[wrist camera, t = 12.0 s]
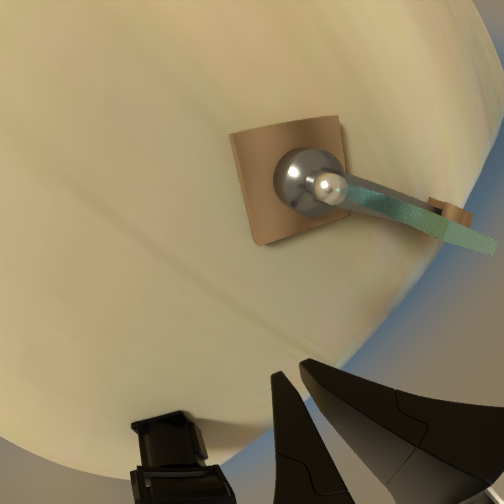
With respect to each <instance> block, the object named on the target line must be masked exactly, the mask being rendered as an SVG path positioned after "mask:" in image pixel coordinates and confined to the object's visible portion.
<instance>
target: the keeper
mask: <svg viewBox="0 0 504 504" xmlns="http://www.w3.org/2000/svg"><path fill="white" fill-rule="evenodd" d="M428 204H430V205H432V206H434V207H437V208H439V209H441V210H442V214H441V216H442V217H445V218H447V219H449V220H452V221H454V222H456V223H459V224H461V225H463V226H465V227H468V228H469V226H470V223H471V220H472V216H473V214H471V213H469V212H467V211H465V210H463V209H461V208H459V207H457V206H455V205H452V204H450V203H447V202H445V203H444V202H441V201H439V200H436V199H433V198H430V197H429V200H428ZM434 238H435V237H434Z"/></svg>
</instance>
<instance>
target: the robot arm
mask: <svg viewBox="0 0 504 504" xmlns="http://www.w3.org/2000/svg"><path fill="white" fill-rule="evenodd" d="M299 368H300V375H301V379H302V381H303V383H304V385H305V386H306V388H307V390H308V392H309V393H310V395H311V397H312V398H313V400H314V402H315V403H316V405H317V407H318V408H319V409H320V411H321V412H322V414H323V415H324V416H325V418H326V419H327V420H328V421H329V422H330V424H331V425H332V426H333V427H334V428H335V430H336V431H337V432H338V433H339V435H340V436H341V437H342V438H343V439H344V440H345V442H346V443H347V444H348V445H349V446H350V447H351V448H352V450H353V451H354V452H355V453H356V454H357V455H358V457H359V458H360V459H361V460H362V461H363V462H364V464H365V465H366V466H367V467H368V468H369V469H370V470H371V471H372V472H373V474H374V475H375V476H376V477H377V478H378V479H379V480H380V481H381V483H382V484H383V485H384V486H385V487H386V488H387V489H388V490H389V492H390V493H391V495H392V496H393V498H394V500H395V502H396V504H504V407H493V406H482V405H473V404H465V403H457V402H451V401H444V400H438V399H432V398H427V397H422V396H418V395H414V394H411V393H407V392H404V391H400V390H397V389H396V390H394V389H393V388H390V387H387V386H384V385H381V384H378V383H375V382H372V381H369V380H367V379H364V378H361V377H358V376H355V375H353V374H350V373H347V372H345V371H342V370H339V369H337V368H334V367H331V366H329V365H326V364H324V363H321V362H318V361H316V360H313V359H311V358H308V359H306V360H303V361H301V362H300V363H299ZM271 391H272V406H273V423H274V439H275V453H276V454H275V460H276V482H275V494H274V502H273V504H355V502H354V501H353V499H352V497H351V495H350V493H349V492H348V489H347V487H346V485H345V483H344V481H343V480H342V478H341V476H340V474H339V472H338V470H337V468H336V466H335V464H334V462H333V460H332V458H331V456H330V454H329V452H328V450H327V448H326V447H325V444H324V442H323V440H322V439H321V436H320V434H319V432H318V430H317V428H316V426H315V424H314V423H313V420H312V419H311V417H310V414H309V412H308V410H307V408H306V406H305V404H304V402H303V400H302V398H301V396H300V394H299V393H298V391H297V390H296V389H295V387H294V386H293V385H292V383H291V382H290V381H289V380H288V378H287V377H286V376H285V374H284V373H283V372H282V371H279V372H276V373H274V374H272V375H271ZM131 429H132V430H134V431H135V432H136V433H137V434H138V438H139V447H140V455H141V463H142V466H137V470H134V471H130V477H131V485H132V490H133V496H134V501H135V504H237V503H236V498H235V494H234V492H233V490H232V488H231V486H230V484H229V483H228V481H227V480H226V478H225V476H224V474H223V472H222V471H221V469H220V467H219V465H218V464H217V465H213V466H206V464H205V461H204V460H206V459H208V454H207V451H206V448H205V444H204V441H203V438H202V434H201V431H200V430H199V429H198V427H197V426H196V425H195V424H194V422H192V421H191V422H190V421H189V419H188V418H187V417H186V416H185V414H184V413H183V412H181V411H177V412H174V413H170V414H166V415H163V416H159V417H155V418H151V419H147V420H143V421H139V422H134V423H131ZM146 485H147V486H148V485H149V487H146Z"/></svg>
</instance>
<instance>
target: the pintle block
mask: <svg viewBox="0 0 504 504" xmlns="http://www.w3.org/2000/svg"><path fill="white" fill-rule="evenodd" d="M229 136H230V141H231V145H232V149H233V154H234V158H235V162H236V166H237V171H238V175H239V179H240V184H241V188H242V192H243V197H244V201H245V205H246V210H247V214H248V218H249V223H250V227H251V231H252V236H253V240H254V242H255V243H256V244H257V245H258V246H262V245H265V244H267V243H270V242H273V241H276V240H279V239H282V238H285V237H288V236H290V235H293V234H296V233H299V232H302V231H305V230H308V229H311V228H314V227H316V226H319V225H322V224H325V223H328V222H331V221H334V220H337V219H340V218H342V217H345V216H348V215H350V210H347V209H343V208H338V207H334V208H333V209H332V210H331V211H330V212H328V213H327V214H325V215H322V216H318V217H308V216H305V215H302V214H300V213H299V212H297V211H295V210H293V209H291V208H290V207H288V206H286V205H285V204H284V203H282V202H281V201H280V199H279V198H278V196H277V194H276V192H275V189H274V185H273V176H274V171H275V168H276V166H277V163H278V162H279V160H280V159H281V158H282V157H283V156H284V155H285V154H286V153H287V152H289V151H291V150H293V149H296V148H302V147H303V148H312V149H319V150H324V151H327V152H330V153H331V154H333V155H334V156H335V157H336V158H337V159H338V160H339V162H340V163H341V165H342V167H343V170H344V173H346V167H345V159H344V151H343V144H342V137H341V131H340V124H339V118H338V116H324V117H316V118H310V119H303V120H297V121H291V122H285V123H280V124H275V125H269V126H264V127H260V128H255V129H250V130H246V131H241V132H237V133H233V134H229Z"/></svg>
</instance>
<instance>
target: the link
mask: <svg viewBox="0 0 504 504" xmlns="http://www.w3.org/2000/svg"><path fill="white" fill-rule="evenodd" d="M273 185H274V189H275V192H276V194H277V196H278V198H279V199H280V201H281V202H282V203H284V204H285V205H286V206H288V207H290V208H291V209H293V210H295V211H297V212H299V213H300V214H302V215H305V216H308V217H318V216H322V215H325V214H327V213H328V212H330V211H331V210H332V209H333V208H334V207H338V208H343V209H347V210H351V211H355V212H359V213H363V214H367V215H371V216H375V217H379V218H383V219H387V220H391V221H395V222H398V223H402V224H406V225H409V226H412V227H414V228H416V229H418V230H420V231H422V232H424V233H426V234H429V235H431V236H433V237H435V238H437V239H439V240H441V241H443V242H446V243H451V244H454V245H457V246H461V247H465V248H468V249H472V250H475V251H479V252H482V253H486V254H489V255H492V256H494V253H495V250H496V247H497V244H498V242H497V241H495V240H493V239H491V238H489V237H487V236H485V235H483V234H480V233H479V232H476V231H474V230H472V229H470V228H468V227H465V226H463V225H461V224H459V223H456V222H454V221H452V220H449V219H447V218H445V217H442V216H441V214H442V210H441V209H439V208H437V207H434V206H432V205H430V204H427V203H425V202H423V201H420V200H418V199H415V198H413V197H410V196H408V195H405V194H403V193H400V192H398V191H395V190H392V189H390V188H387V187H384V186H382V185H379V184H376V183H373V182H370V181H368V180H365V179H362V178H359V177H356V176H353V175H350V174H347V173H344V170H343V167H342V165H341V163H340V162H339V160H338V159H337V158H336V157H335V156H334V155H333V154H331V153H330V152H327V151H324V150H319V149H312V148H303V147H302V148H296V149H293V150H291V151H289V152H287V153H286V154H285V155H284V156H283V157H282V158H281V159H280V160H279V162H278V163H277V166H276V168H275V171H274V176H273Z"/></svg>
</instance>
